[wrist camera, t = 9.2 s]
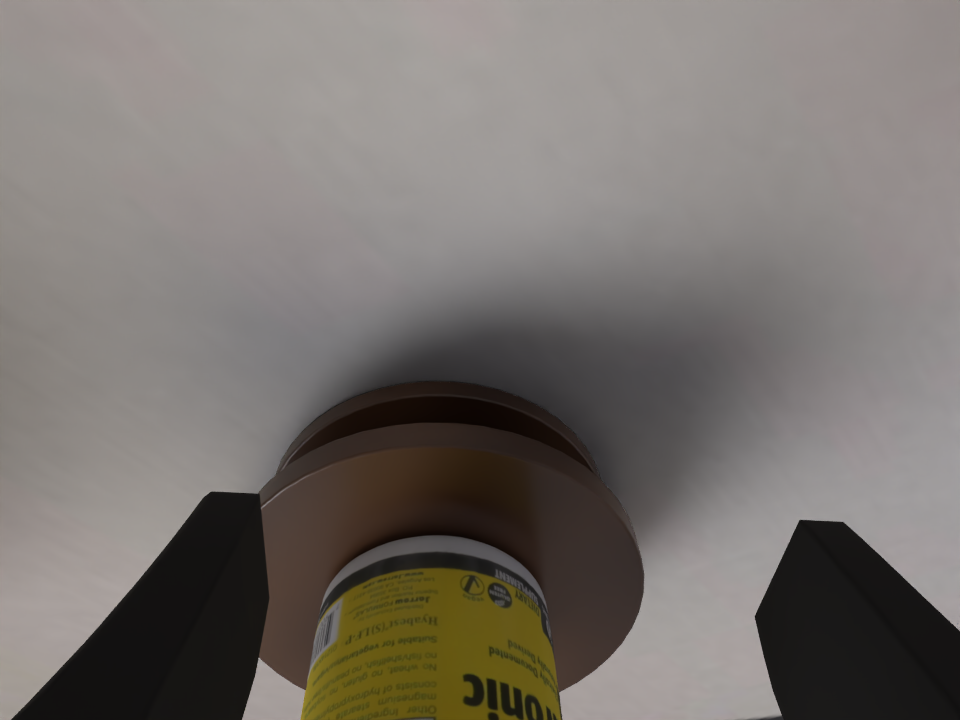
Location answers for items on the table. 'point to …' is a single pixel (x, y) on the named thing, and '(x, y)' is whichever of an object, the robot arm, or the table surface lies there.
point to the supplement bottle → (433, 637)
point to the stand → (449, 512)
